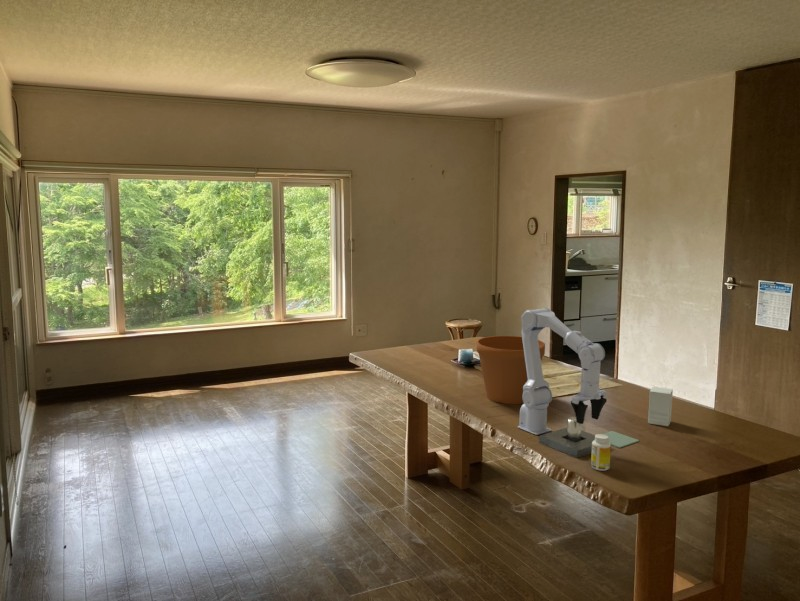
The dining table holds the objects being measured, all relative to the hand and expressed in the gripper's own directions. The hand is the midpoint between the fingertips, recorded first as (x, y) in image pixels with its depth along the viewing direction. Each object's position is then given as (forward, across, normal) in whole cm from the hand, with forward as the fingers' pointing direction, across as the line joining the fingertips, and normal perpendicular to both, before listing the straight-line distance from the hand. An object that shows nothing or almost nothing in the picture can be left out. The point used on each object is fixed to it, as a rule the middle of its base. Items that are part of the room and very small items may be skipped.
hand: (587, 420), depth 205 cm
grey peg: (+10, 0, +5) cm, 11 cm away
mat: (+10, +16, 0) cm, 19 cm away
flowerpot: (+11, +20, +56) cm, 61 cm away
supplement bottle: (+10, -8, -12) cm, 18 cm away
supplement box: (+10, +45, +2) cm, 46 cm away
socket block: (+10, 0, +5) cm, 11 cm away
